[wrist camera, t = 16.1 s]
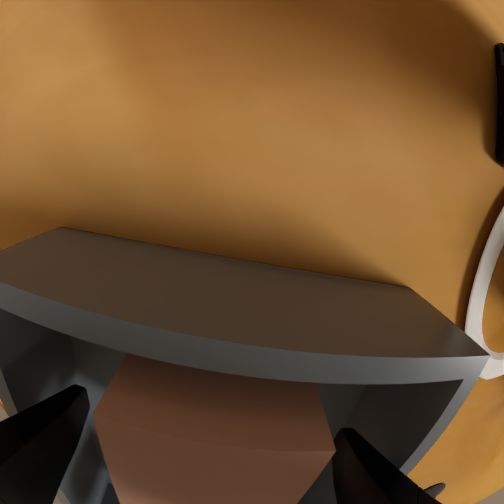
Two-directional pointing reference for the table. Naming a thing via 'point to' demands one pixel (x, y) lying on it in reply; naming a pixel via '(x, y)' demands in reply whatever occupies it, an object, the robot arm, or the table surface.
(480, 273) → the candle holder
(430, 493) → the sundae
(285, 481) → the cube
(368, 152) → the table surface
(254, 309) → the tote
